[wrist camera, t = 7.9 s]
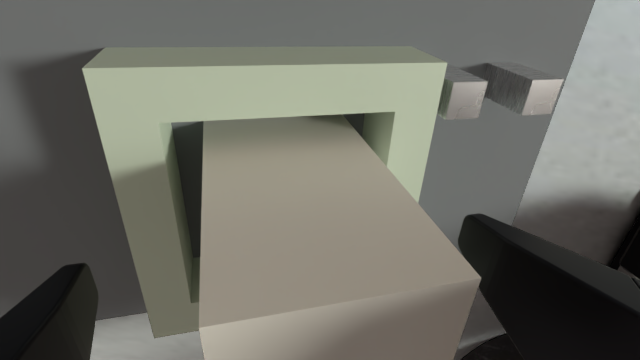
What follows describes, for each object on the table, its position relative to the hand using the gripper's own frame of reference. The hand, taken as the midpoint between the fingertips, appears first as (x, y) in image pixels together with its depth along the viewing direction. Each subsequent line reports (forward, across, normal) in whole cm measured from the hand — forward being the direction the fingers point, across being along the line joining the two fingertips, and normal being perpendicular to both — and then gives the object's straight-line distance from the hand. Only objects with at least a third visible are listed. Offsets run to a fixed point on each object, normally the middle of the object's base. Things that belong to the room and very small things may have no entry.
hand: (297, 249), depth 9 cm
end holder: (+4, 0, 0) cm, 4 cm away
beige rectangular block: (+4, 0, 0) cm, 4 cm away
